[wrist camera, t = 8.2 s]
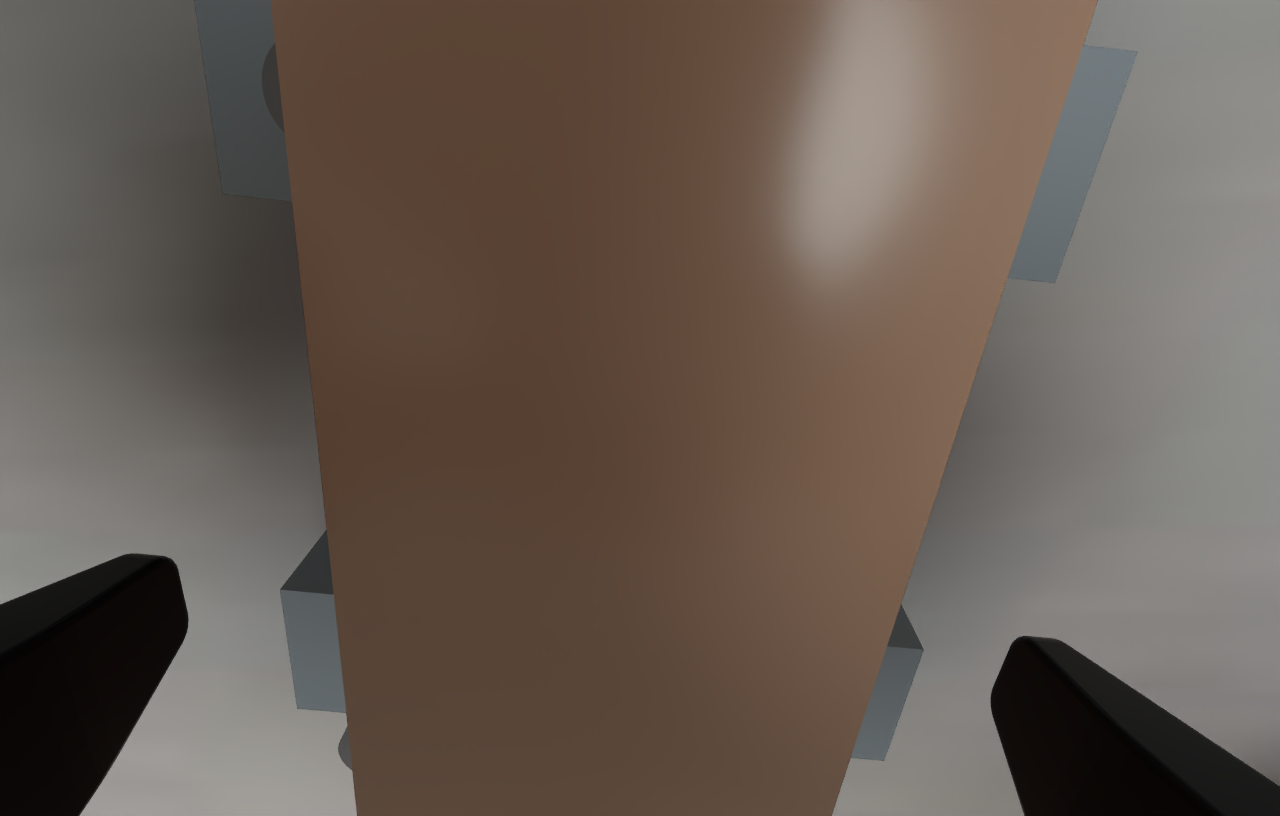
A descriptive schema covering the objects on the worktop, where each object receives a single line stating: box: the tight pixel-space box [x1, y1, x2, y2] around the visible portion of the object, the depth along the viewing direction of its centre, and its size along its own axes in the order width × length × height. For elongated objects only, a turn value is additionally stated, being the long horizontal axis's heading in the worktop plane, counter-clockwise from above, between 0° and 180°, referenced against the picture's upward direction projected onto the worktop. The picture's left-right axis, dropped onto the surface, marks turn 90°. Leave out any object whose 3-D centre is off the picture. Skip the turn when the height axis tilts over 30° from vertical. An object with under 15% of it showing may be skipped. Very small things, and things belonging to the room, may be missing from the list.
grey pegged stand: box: [194, 0, 1138, 770], centre depth 12 cm, size 20×12×5 cm, turn 174°
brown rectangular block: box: [271, 0, 1098, 816], centre depth 8 cm, size 14×4×6 cm, turn 174°
